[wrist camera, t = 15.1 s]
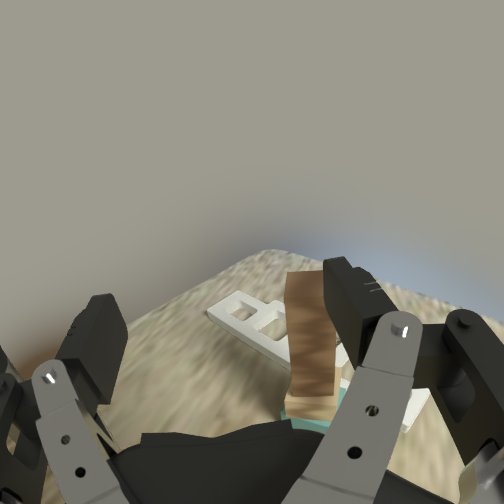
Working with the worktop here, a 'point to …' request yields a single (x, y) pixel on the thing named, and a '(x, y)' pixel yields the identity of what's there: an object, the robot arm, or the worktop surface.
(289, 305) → the walnut column
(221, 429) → the worktop surface
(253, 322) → the holder
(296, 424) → the tower base
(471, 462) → the robot arm
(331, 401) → the tower mid
